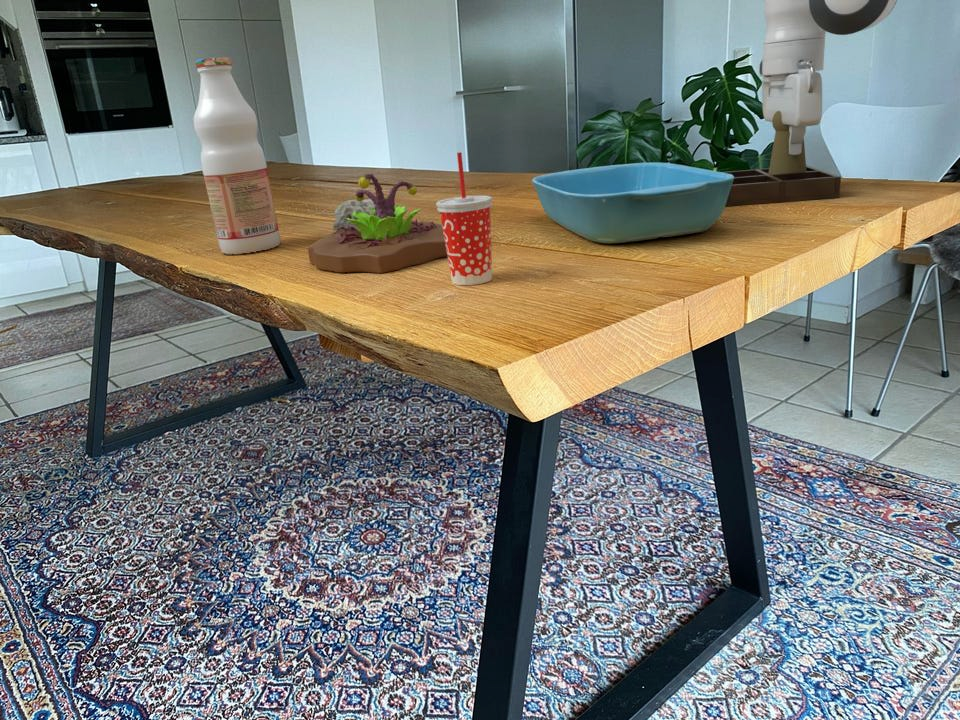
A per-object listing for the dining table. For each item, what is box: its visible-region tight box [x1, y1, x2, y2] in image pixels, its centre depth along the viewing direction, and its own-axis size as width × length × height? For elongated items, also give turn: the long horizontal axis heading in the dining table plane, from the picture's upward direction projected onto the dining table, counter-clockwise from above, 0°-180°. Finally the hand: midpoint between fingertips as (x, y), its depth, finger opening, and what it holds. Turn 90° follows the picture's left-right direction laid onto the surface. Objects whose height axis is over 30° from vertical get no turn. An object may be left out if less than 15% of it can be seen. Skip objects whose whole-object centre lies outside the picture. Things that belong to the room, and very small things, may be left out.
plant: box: [307, 173, 448, 274], centre depth 99 cm, size 20×20×11 cm
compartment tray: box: [721, 164, 842, 207], centre depth 118 cm, size 16×16×3 cm
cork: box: [768, 111, 807, 175], centre depth 119 cm, size 6×6×11 cm
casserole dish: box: [531, 161, 734, 244], centre depth 105 cm, size 37×22×7 cm, turn 9°
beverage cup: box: [435, 151, 493, 286], centre depth 81 cm, size 6×6×14 cm
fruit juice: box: [192, 57, 281, 255], centre depth 112 cm, size 9×9×28 cm
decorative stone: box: [332, 198, 375, 233], centre depth 125 cm, size 12×11×5 cm
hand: (788, 152), depth 120 cm, fingers closed on cork, 4 cm apart
